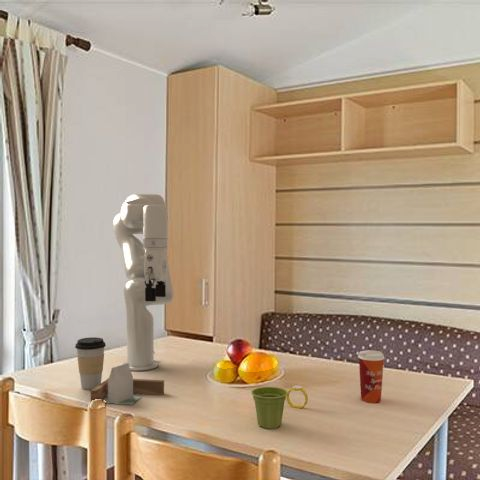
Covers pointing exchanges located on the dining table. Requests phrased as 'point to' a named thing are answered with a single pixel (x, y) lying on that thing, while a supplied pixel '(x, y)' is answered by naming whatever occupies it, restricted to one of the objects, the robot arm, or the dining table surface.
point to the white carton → (120, 384)
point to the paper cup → (371, 375)
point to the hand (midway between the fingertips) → (155, 298)
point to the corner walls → (138, 387)
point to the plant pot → (269, 406)
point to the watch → (297, 388)
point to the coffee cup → (90, 361)
